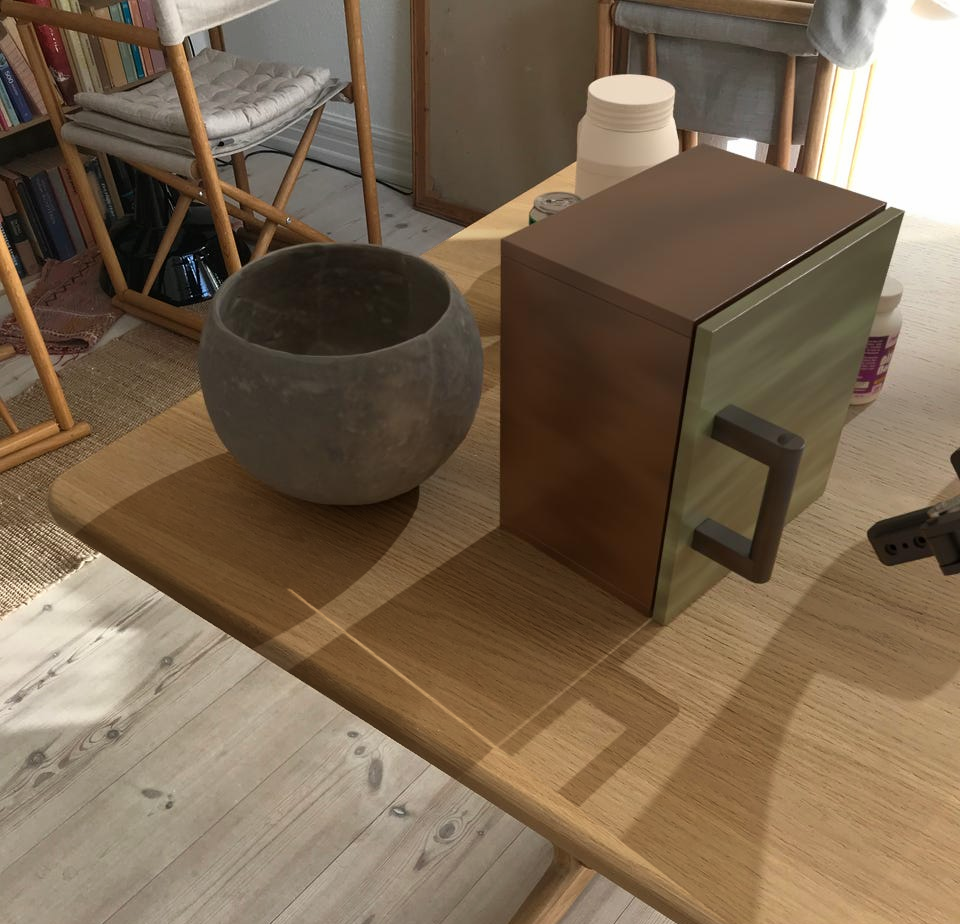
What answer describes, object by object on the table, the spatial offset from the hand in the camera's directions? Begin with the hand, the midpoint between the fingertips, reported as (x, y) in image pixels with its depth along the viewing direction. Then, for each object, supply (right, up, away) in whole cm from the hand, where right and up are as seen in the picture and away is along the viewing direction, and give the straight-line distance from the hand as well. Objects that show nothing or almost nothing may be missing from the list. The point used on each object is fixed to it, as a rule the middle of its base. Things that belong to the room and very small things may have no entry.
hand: (919, 506), depth 53 cm
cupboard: (-9, +3, +25) cm, 27 cm away
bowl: (-33, +6, +29) cm, 44 cm away
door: (-2, -2, +20) cm, 20 cm away
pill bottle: (+9, +15, +36) cm, 40 cm away
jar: (-8, +35, +56) cm, 66 cm away
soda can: (-16, +22, +43) cm, 51 cm away
